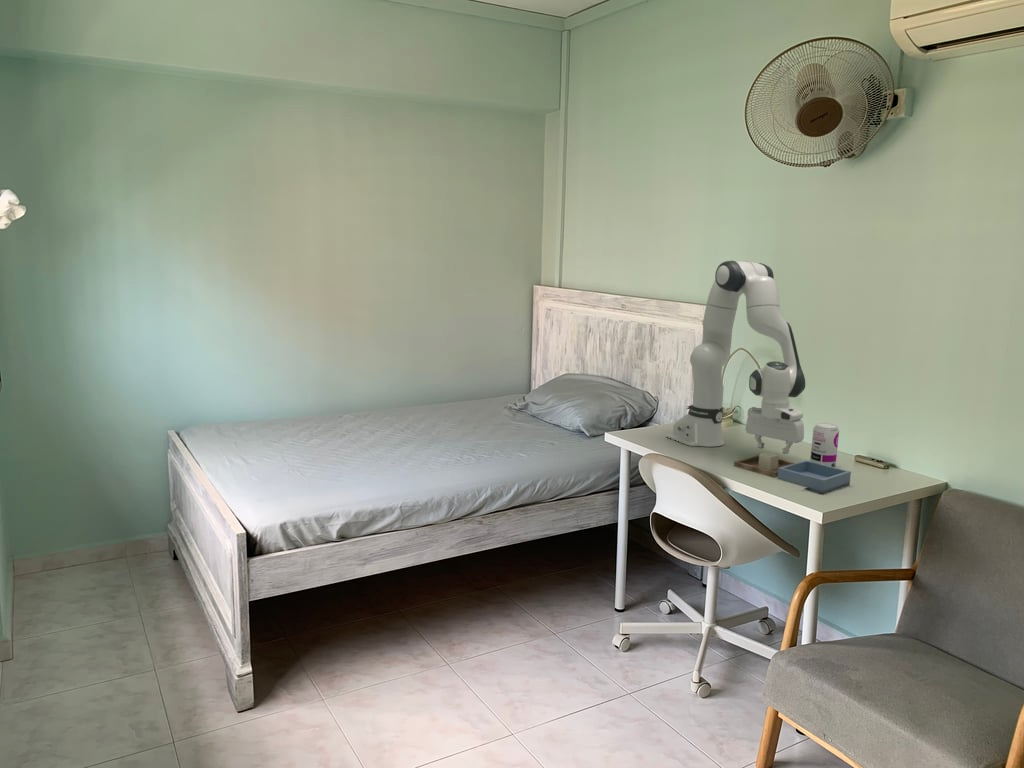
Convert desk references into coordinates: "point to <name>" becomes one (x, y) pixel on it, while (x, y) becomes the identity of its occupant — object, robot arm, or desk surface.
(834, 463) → the supplement can
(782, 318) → the robot arm
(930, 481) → the desk surface
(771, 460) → the sandstone block
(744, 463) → the walnut tray
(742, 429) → the desk surface
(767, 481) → the desk surface
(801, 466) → the slate-blue bin
